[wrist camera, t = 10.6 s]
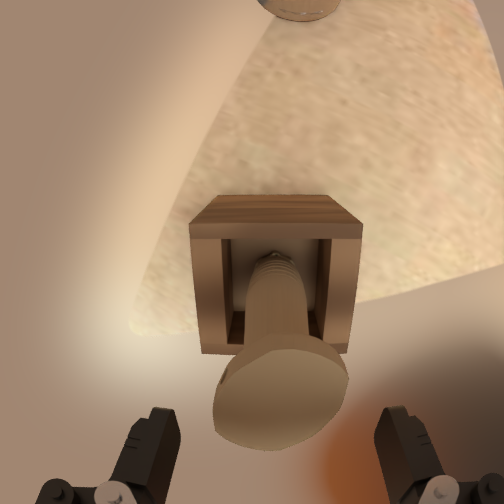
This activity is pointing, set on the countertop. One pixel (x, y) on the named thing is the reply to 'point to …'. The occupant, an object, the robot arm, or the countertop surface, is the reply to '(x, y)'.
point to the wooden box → (261, 245)
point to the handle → (278, 367)
